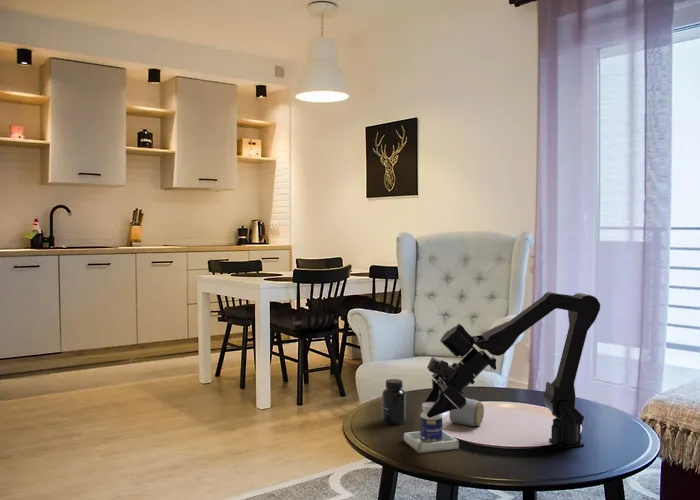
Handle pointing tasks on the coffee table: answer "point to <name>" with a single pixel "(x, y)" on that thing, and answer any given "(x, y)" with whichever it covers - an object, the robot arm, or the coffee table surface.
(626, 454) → the coffee table surface
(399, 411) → the supplement bottle
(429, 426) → the pill bottle
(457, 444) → the tray
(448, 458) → the coffee table surface
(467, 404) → the ceramic mug
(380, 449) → the coffee table surface
